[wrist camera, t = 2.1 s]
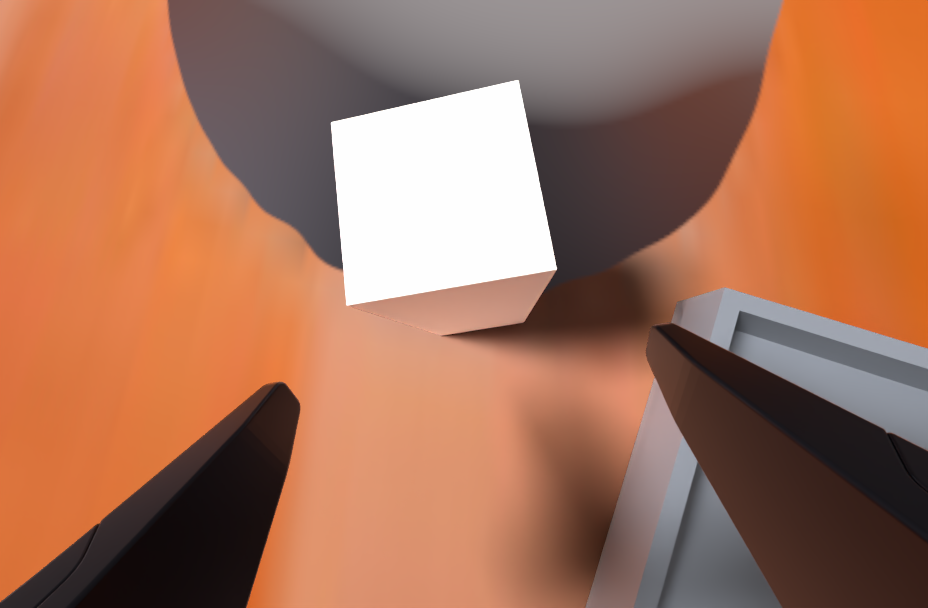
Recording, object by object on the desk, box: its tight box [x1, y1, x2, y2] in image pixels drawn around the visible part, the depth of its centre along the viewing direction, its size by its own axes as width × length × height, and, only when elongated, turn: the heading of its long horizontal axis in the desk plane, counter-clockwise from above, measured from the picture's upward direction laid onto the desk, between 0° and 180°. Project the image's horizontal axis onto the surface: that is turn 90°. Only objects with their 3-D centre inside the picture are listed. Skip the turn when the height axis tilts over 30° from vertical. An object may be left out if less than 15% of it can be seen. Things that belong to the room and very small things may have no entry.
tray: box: [586, 288, 928, 608], centre depth 14 cm, size 18×16×4 cm
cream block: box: [331, 80, 557, 336], centre depth 14 cm, size 5×5×12 cm
